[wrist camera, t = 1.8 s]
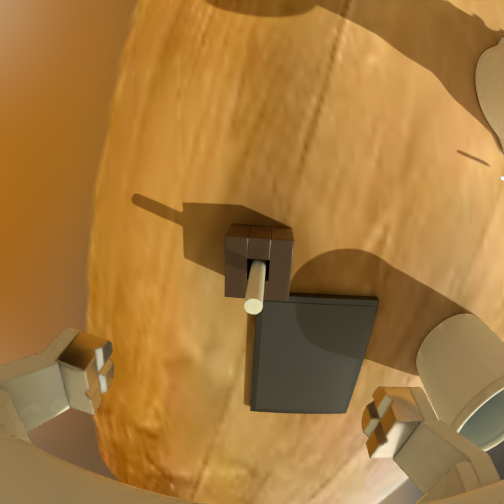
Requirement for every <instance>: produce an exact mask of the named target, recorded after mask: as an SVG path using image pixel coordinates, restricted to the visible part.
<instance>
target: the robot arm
mask: <svg viewBox="0 0 504 504" xmlns="http://www.w3.org/2000/svg"><path fill="white" fill-rule="evenodd" d="M475 83H476V91H477V96H478V100H479V103H480V106H481V109H482V111H483V114H484V116H485V118H486V120H487V121H488V123H489V125H490V126H491V127H492V129H493V130H494V131H495V133H496V134H497V136H498V137H499V140H500V143H501V146H502V149H503V152H504V36H503V37H502V38H501V40H500V41H499V43H498V45H496V46H494V47H491V48H489V49H487V50H486V51H484V52H483V53H482V55H481V56H480V58H479V60H478V63H477V67H476V74H475ZM501 179H502V180H504V177H502V178H501ZM112 352H113V350H112V343H111V342H110V341H109V340H105V339H102V338H99V337H96V336H93V335H90V334H87V333H84V332H80V331H78V330H75V329H72V328H69V327H68V328H65V329H64V330H63V331H62V332H61V333H60V334H59V335H58V336H57V337H56V338H55V340H54V341H53V342H52V343H51V344H50V345H49V346H48V347H47V348H46V349H45V351H44V352H43V353H42V354H41V355H38V354H34V355H31V356H28V357H25V358H22V359H19V360H15V361H12V362H9V363H6V364H3V365H0V504H206V503H200V502H195V501H190V500H185V499H180V498H176V497H172V496H167V495H163V494H159V493H155V492H152V491H148V490H145V489H141V488H138V487H134V486H131V485H128V484H125V483H122V482H118V481H116V480H113V479H109V478H107V477H104V476H101V475H99V474H96V473H93V472H91V471H88V470H86V469H83V468H81V467H78V466H76V465H73V464H71V463H69V462H67V461H64V460H62V459H59V458H58V457H55V456H53V455H51V454H49V453H47V452H45V451H43V450H41V449H39V448H37V447H35V446H33V443H32V441H31V439H30V437H29V435H28V434H27V432H28V431H30V430H32V429H34V428H35V427H37V426H39V425H41V424H42V423H44V422H46V421H48V420H50V419H51V418H53V417H55V416H57V415H58V414H60V413H62V412H64V411H65V410H67V409H69V408H70V407H72V408H75V409H78V410H81V411H84V412H86V413H89V414H92V415H94V414H95V413H96V411H97V409H98V407H99V406H100V404H101V402H102V395H101V394H102V393H104V392H106V391H108V390H109V388H110V386H111V384H112V380H113V377H114V363H113V361H112V360H111V359H110V355H111V354H112ZM372 396H373V399H374V401H372V402H371V403H370V404H368V405H367V406H366V408H365V410H364V412H363V416H362V429H363V433H364V434H366V435H367V436H368V437H369V438H368V440H367V442H366V445H367V449H368V453H369V457H370V459H380V458H393V460H394V461H395V462H396V463H397V464H398V466H399V467H400V468H401V469H402V470H403V471H404V472H405V473H406V474H407V476H408V477H409V478H410V479H411V480H412V481H413V482H414V483H415V484H416V485H417V486H418V488H419V489H420V490H421V491H422V492H423V493H424V494H425V495H424V496H423V497H422V498H420V499H419V500H418V501H417V502H416V503H415V504H504V480H501V479H500V477H499V475H498V473H497V471H496V469H495V467H494V464H493V462H492V461H491V458H490V456H489V455H488V454H487V453H485V452H484V451H483V450H481V449H480V448H479V447H477V446H476V445H475V444H473V443H472V442H470V441H469V440H468V439H466V438H465V437H464V436H462V435H461V434H459V433H458V432H457V431H455V430H454V429H453V428H451V427H450V426H449V425H447V424H446V423H445V422H443V421H442V420H439V421H438V419H437V417H436V415H435V413H434V411H433V409H432V407H431V405H430V403H429V401H428V399H427V397H426V395H425V393H424V391H423V390H422V389H421V388H420V387H381V386H379V387H378V388H377V389H376V390H375V392H374V393H373V395H372ZM69 406H70V407H69Z"/></svg>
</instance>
